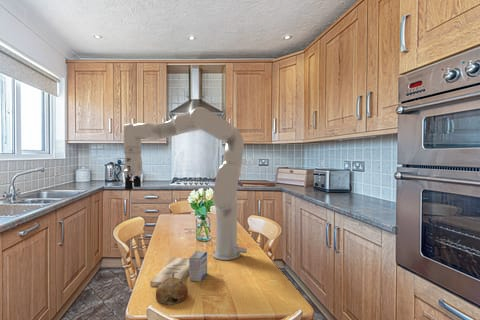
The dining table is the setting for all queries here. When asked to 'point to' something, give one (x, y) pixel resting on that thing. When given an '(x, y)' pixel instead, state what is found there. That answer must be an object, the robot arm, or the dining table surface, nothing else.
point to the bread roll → (171, 291)
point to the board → (172, 271)
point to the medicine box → (198, 266)
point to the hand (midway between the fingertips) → (133, 188)
